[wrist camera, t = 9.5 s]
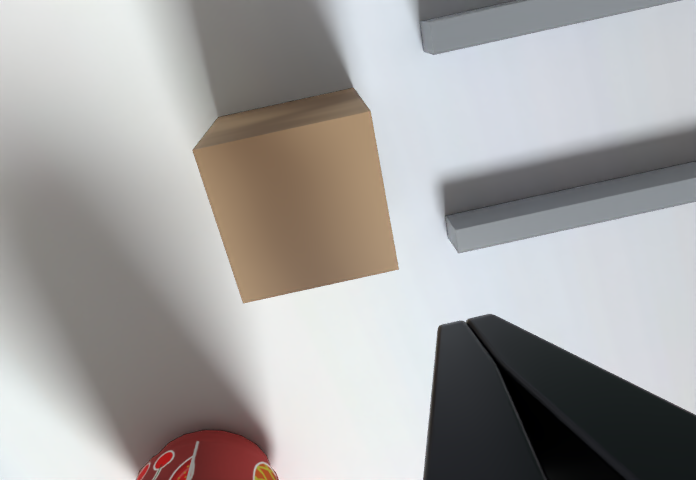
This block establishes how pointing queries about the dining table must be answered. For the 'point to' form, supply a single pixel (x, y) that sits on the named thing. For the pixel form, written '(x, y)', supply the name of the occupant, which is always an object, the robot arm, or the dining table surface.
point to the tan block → (298, 194)
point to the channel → (567, 205)
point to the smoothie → (209, 459)
